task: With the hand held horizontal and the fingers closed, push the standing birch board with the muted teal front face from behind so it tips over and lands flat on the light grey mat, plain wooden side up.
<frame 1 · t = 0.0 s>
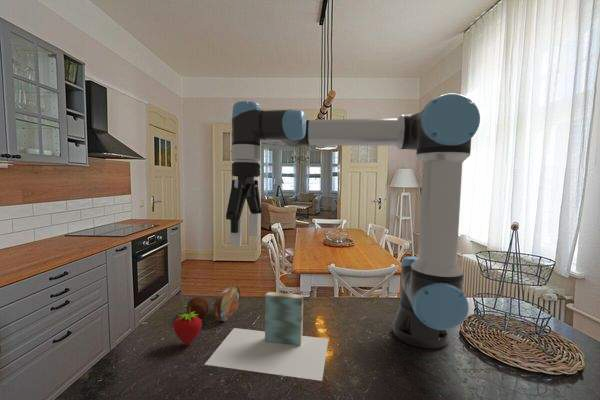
hand: (245, 240, 82), 28 cm above the countertop, tool pointing down, fingers open, 13 cm apart
potato: (197, 316, 97), on the countertop
board: (283, 341, 82), point 1 cm above the countertop, touching mat
tin: (227, 315, 99), on the countertop
mat: (271, 352, 77), on the countertop
strawberry: (187, 345, 80), on the countertop
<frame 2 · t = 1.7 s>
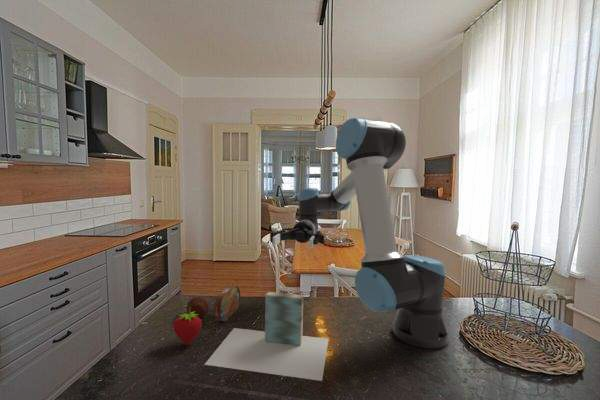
hand: (292, 243, 89), 26 cm above the countertop, tool horizontal, fingers open, 10 cm apart
nothing on the countertop moved.
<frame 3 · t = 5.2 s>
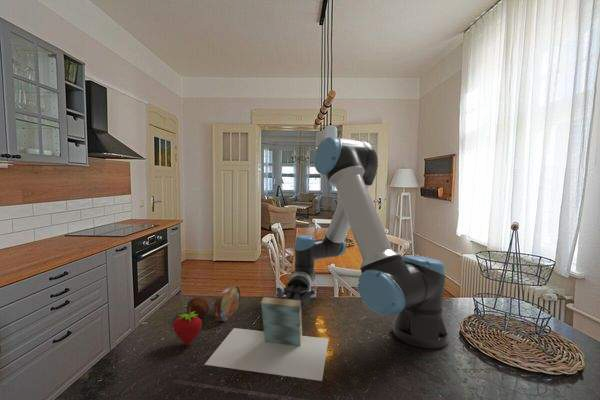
hand: (283, 315, 82), 8 cm above the countertop, tool horizontal, fingers closed
board: (283, 340, 82), point 1 cm above the countertop, tilted 17°, touching mat
everything else where it was.
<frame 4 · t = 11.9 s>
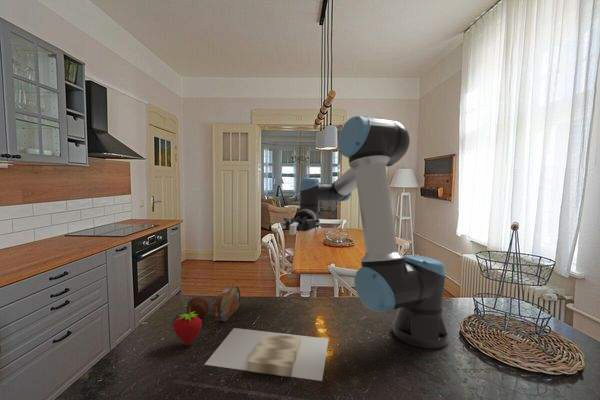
hand: (292, 230, 88), 30 cm above the countertop, tool horizontal, fingers closed
board: (282, 339, 80), point 2 cm above the countertop, tilted 90°, touching mat
everything else where it was.
at the end: board tilted 90°; board inside the target area (4.5 cm from its centre), point 2.0 cm above the countertop; the gripper is holding nothing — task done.
